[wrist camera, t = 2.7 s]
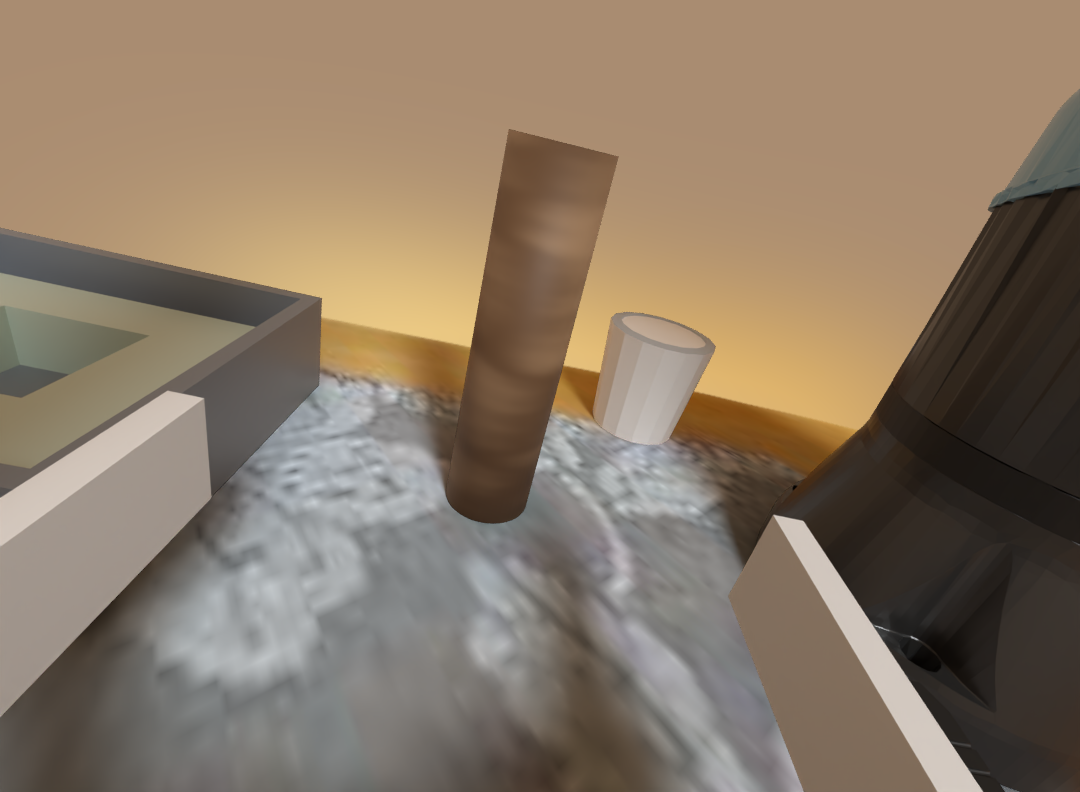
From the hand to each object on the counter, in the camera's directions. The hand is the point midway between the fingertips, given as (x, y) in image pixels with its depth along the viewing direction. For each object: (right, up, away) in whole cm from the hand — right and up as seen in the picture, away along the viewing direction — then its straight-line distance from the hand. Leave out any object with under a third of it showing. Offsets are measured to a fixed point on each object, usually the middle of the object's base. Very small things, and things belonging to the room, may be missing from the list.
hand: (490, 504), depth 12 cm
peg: (-1, -2, +13) cm, 14 cm away
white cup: (+8, +1, +24) cm, 25 cm away
